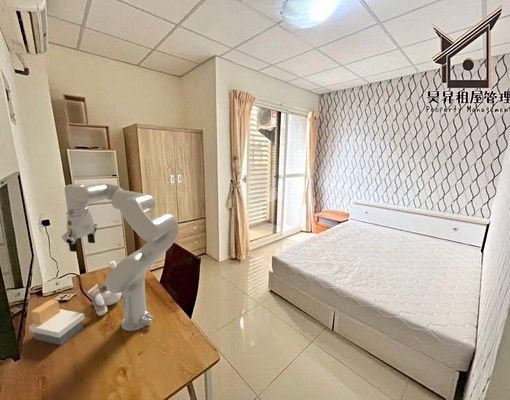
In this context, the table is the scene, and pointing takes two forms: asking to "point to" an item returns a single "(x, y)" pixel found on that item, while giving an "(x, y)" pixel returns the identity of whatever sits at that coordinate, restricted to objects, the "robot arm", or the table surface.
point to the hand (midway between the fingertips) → (83, 246)
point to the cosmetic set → (103, 296)
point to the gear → (103, 287)
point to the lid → (53, 319)
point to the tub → (63, 337)
